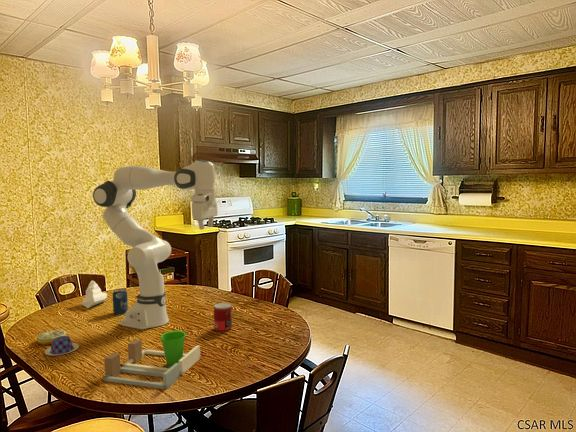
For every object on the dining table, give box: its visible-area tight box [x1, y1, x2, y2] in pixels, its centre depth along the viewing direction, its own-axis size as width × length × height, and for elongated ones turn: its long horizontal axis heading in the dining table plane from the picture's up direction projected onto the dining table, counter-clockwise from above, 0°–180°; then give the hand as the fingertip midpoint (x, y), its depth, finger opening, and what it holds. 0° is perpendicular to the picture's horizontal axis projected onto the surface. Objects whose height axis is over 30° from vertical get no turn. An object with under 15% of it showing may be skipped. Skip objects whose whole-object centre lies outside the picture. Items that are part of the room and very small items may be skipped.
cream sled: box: [121, 338, 201, 376], centre depth 147 cm, size 25×13×7 cm, turn 75°
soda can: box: [112, 288, 129, 316], centre depth 204 cm, size 7×7×12 cm
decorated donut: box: [36, 329, 67, 346], centre depth 169 cm, size 10×11×4 cm
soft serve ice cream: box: [81, 280, 108, 309], centre depth 219 cm, size 12×15×14 cm
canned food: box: [213, 302, 233, 332], centre depth 180 cm, size 8×8×11 cm
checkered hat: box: [44, 335, 80, 356], centre depth 159 cm, size 12×12×5 cm
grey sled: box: [103, 352, 181, 390], centre depth 135 cm, size 25×8×7 cm, turn 75°
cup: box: [160, 330, 187, 368], centre depth 145 cm, size 9×9×11 cm
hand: (206, 228), depth 176 cm, fingers open, 8 cm apart
